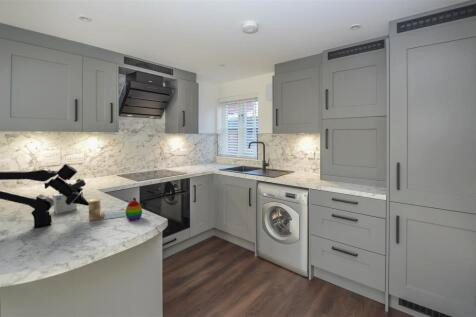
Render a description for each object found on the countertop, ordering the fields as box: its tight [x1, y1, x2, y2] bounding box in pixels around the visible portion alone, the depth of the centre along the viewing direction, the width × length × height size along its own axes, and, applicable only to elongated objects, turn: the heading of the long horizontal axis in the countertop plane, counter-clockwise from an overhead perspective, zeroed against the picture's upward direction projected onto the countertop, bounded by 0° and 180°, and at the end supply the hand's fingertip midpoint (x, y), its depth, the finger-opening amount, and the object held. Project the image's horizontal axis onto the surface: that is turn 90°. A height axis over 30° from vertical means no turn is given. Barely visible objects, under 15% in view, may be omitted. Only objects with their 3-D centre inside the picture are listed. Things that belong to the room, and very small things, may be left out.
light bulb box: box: [51, 193, 78, 214], centre depth 151 cm, size 11×7×11 cm, turn 141°
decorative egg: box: [125, 200, 143, 221], centre depth 133 cm, size 8×8×10 cm
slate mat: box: [99, 210, 127, 221], centre depth 139 cm, size 12×10×2 cm
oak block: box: [88, 198, 101, 221], centre depth 135 cm, size 5×6×10 cm
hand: (88, 204), depth 134 cm, fingers closed
